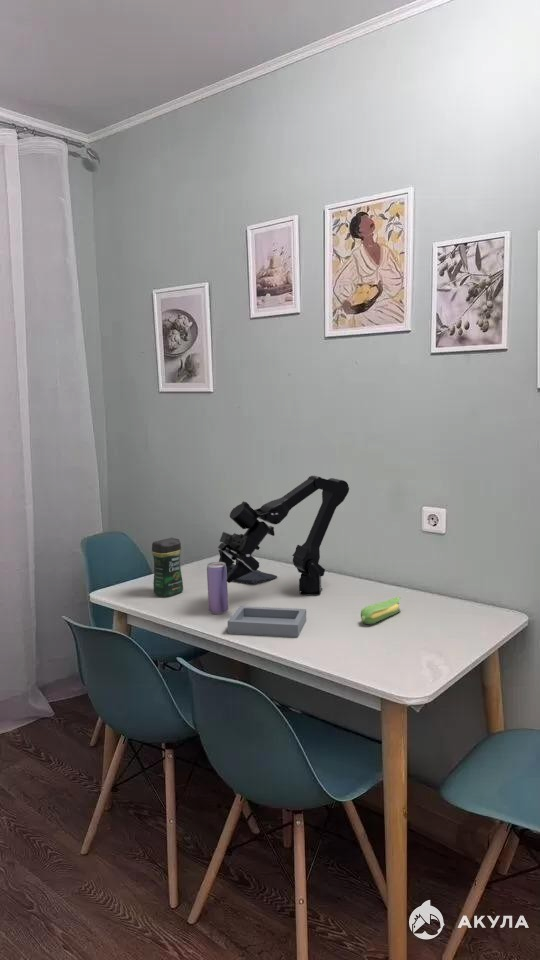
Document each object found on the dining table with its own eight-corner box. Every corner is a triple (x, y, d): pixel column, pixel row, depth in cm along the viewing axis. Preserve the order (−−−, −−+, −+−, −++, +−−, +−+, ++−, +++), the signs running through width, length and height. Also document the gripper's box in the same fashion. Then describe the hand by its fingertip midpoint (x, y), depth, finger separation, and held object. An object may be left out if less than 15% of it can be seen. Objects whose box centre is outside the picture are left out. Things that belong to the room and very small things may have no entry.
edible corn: (354, 609, 199) (366, 608, 196) (396, 594, 212) (408, 593, 209) (358, 627, 198) (370, 627, 195) (399, 611, 212) (412, 610, 209)
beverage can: (225, 615, 210) (223, 567, 207) (206, 614, 211) (204, 566, 209) (230, 608, 215) (228, 561, 213) (212, 607, 217) (209, 561, 214)
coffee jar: (165, 599, 226) (162, 543, 224) (150, 594, 232) (146, 540, 229) (187, 591, 234) (184, 537, 231) (172, 587, 239) (169, 534, 236)
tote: (306, 620, 203) (306, 609, 202) (298, 637, 190) (297, 625, 190) (240, 617, 208) (239, 606, 207) (228, 633, 195) (227, 621, 194)
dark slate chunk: (250, 589, 235) (250, 575, 235) (208, 577, 251) (207, 564, 250) (281, 579, 246) (281, 565, 246) (239, 568, 262) (238, 555, 261)
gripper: (222, 517, 220) (191, 556, 217) (248, 527, 204) (215, 570, 201) (245, 538, 225) (215, 576, 222) (273, 550, 209) (241, 591, 205)
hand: (221, 578), depth 212 cm, fingers open, 9 cm apart
